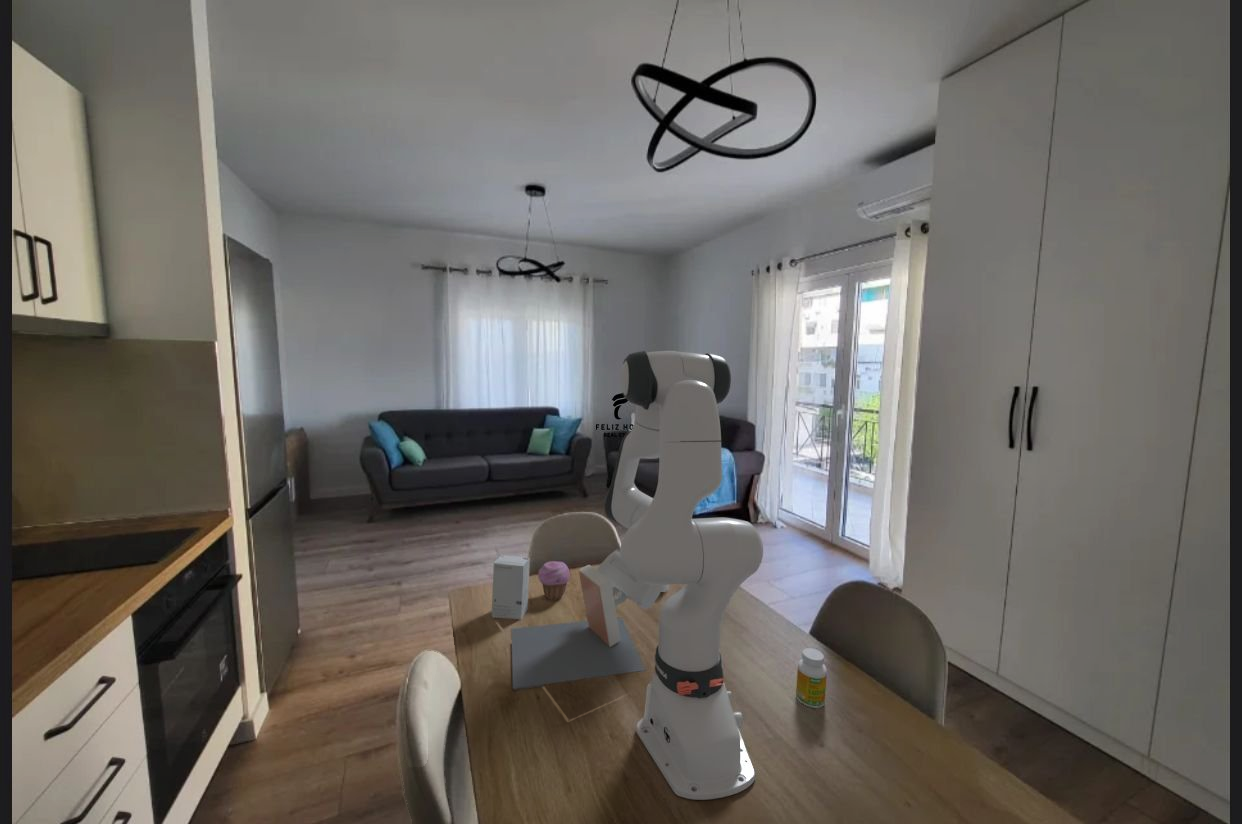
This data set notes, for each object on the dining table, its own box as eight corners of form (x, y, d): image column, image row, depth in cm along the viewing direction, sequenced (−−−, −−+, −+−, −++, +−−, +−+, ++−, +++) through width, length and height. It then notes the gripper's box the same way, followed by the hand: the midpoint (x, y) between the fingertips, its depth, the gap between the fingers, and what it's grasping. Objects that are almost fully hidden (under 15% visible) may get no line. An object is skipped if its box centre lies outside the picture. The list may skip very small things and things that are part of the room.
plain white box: (598, 621, 121) (589, 564, 118) (620, 640, 113) (610, 580, 109) (588, 627, 119) (577, 569, 116) (609, 647, 111) (599, 586, 108)
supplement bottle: (807, 711, 92) (810, 664, 91) (790, 692, 98) (793, 647, 97) (830, 706, 94) (834, 660, 93) (812, 688, 99) (815, 644, 98)
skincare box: (491, 618, 123) (490, 563, 121) (499, 606, 129) (499, 553, 127) (522, 621, 122) (522, 565, 121) (530, 609, 128) (530, 555, 127)
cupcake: (534, 592, 137) (534, 559, 136) (562, 586, 141) (563, 554, 140) (544, 607, 129) (544, 571, 128) (574, 600, 133) (574, 566, 132)
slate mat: (645, 671, 103) (645, 670, 103) (512, 690, 97) (512, 688, 97) (621, 618, 124) (621, 616, 124) (511, 630, 118) (511, 628, 118)
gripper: (612, 539, 127) (579, 583, 123) (659, 568, 110) (623, 619, 106) (625, 552, 130) (594, 595, 126) (673, 581, 113) (639, 633, 109)
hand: (607, 607), depth 116 cm, fingers closed
